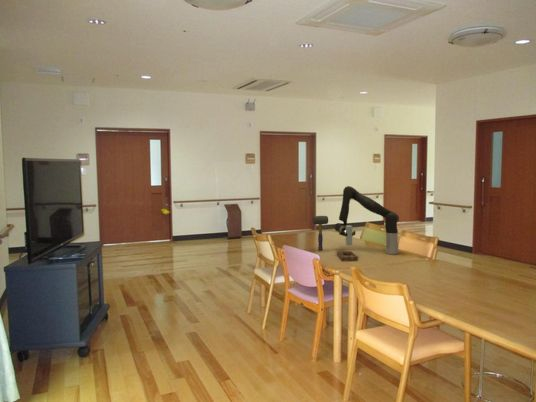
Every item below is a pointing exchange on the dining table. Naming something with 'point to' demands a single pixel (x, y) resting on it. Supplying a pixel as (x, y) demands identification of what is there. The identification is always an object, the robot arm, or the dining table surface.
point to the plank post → (349, 235)
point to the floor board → (347, 256)
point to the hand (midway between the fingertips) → (349, 234)
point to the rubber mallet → (320, 228)
